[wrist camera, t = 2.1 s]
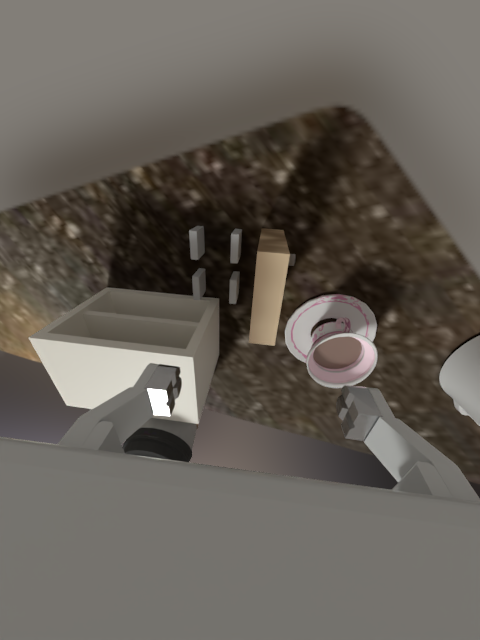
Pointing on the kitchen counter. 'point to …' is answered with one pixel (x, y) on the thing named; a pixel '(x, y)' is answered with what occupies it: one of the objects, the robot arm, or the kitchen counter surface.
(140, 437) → the coffee cup
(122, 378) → the cabinet
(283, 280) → the door
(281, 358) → the kitchen counter surface
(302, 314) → the teacup
